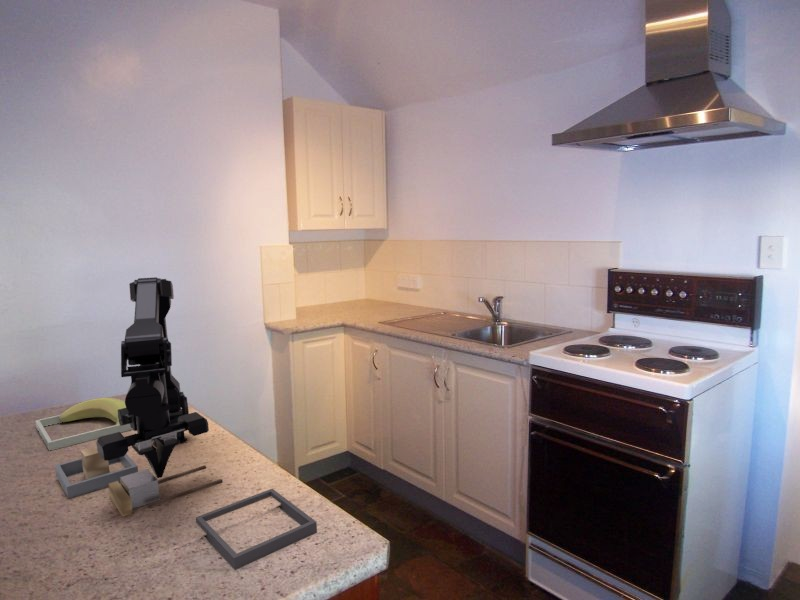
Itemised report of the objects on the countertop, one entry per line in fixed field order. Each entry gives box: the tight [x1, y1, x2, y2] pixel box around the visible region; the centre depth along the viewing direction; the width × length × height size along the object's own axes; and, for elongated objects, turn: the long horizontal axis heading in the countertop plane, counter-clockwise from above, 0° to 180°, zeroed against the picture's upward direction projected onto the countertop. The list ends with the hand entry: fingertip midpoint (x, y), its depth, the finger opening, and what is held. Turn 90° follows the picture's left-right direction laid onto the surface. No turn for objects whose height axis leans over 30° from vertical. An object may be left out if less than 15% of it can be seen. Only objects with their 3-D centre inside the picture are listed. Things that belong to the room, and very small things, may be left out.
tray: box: [54, 453, 139, 499], centre depth 114 cm, size 13×13×4 cm
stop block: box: [80, 445, 110, 480], centre depth 114 cm, size 4×4×6 cm
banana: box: [59, 397, 126, 425], centre depth 145 cm, size 14×6×20 cm
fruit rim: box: [35, 400, 134, 452], centre depth 146 cm, size 26×20×2 cm
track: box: [108, 464, 224, 517], centre depth 107 cm, size 21×9×4 cm, turn 130°
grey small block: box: [120, 468, 161, 510], centre depth 104 cm, size 5×6×4 cm
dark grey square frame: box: [195, 488, 318, 571], centre depth 95 cm, size 15×16×2 cm
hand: (159, 477), depth 106 cm, fingers closed
